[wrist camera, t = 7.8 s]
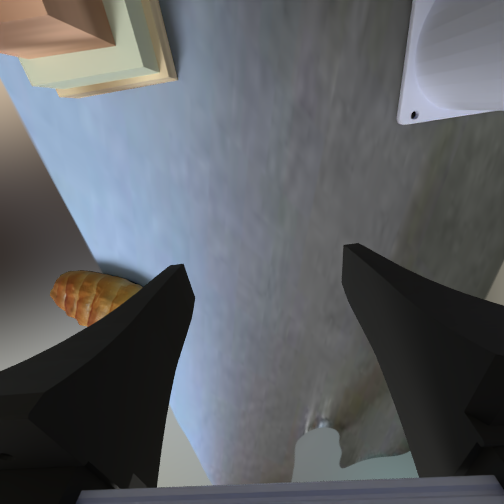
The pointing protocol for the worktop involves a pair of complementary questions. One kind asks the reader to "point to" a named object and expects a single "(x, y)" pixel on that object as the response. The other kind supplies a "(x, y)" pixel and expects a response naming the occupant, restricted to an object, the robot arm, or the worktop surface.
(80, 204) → the worktop surface
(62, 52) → the terracotta cube
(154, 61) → the sage slab
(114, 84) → the oak slab
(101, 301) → the pastry
